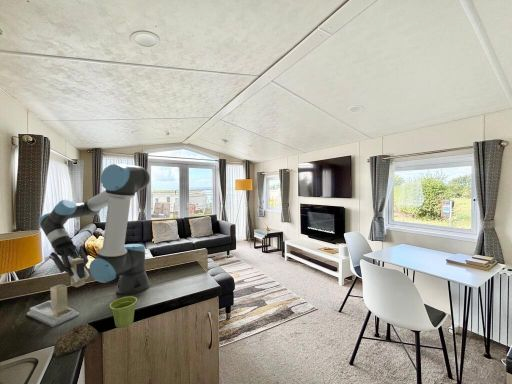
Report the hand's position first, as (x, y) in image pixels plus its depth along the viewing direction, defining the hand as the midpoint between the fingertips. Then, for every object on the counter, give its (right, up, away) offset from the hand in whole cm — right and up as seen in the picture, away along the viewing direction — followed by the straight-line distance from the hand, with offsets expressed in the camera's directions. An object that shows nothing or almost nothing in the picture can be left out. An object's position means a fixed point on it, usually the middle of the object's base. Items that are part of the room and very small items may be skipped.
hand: (82, 278), depth 105 cm
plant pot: (+28, -12, -15) cm, 34 cm away
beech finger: (-3, -3, +2) cm, 5 cm away
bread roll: (+17, -13, -25) cm, 33 cm away
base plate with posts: (-6, -12, -9) cm, 16 cm away
